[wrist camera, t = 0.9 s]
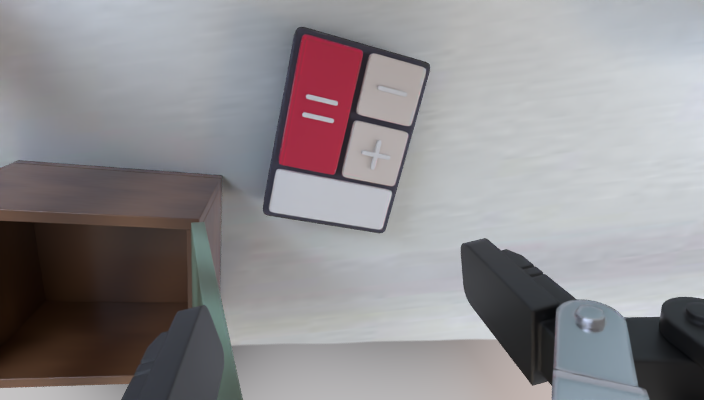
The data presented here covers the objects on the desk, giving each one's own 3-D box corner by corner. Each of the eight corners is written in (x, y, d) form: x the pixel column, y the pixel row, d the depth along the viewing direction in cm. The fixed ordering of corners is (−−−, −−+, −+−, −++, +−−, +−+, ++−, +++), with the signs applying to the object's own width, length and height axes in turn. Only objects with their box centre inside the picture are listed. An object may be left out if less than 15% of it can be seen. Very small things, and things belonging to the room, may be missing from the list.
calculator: (436, 62, 29) (387, 237, 33) (417, 65, 33) (375, 220, 37) (297, 23, 27) (261, 218, 30) (294, 30, 31) (263, 202, 34)
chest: (42, 303, 34) (-43, 389, 25) (18, 160, 30) (-96, 203, 21) (219, 304, 38) (199, 382, 29) (222, 175, 33) (199, 219, 24)
